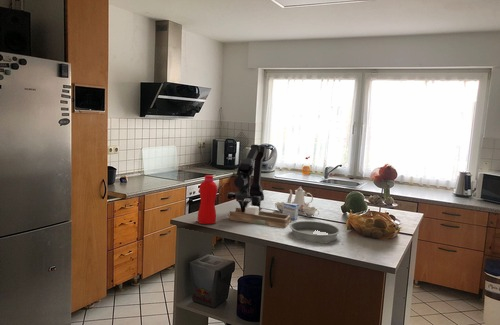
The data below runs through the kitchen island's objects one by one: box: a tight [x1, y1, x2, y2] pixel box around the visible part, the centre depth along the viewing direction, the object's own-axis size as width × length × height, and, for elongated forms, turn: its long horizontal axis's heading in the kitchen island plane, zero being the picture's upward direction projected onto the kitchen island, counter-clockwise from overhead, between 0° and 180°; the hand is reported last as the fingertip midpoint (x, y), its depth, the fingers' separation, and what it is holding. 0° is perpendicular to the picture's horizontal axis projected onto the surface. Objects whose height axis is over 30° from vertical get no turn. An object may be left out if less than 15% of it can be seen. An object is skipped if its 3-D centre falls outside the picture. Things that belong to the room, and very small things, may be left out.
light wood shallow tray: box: [227, 207, 292, 229], centre depth 214 cm, size 14×32×4 cm, turn 72°
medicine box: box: [282, 201, 299, 221], centre depth 223 cm, size 8×4×9 cm, turn 62°
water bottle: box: [197, 174, 218, 225], centre depth 203 cm, size 9×11×25 cm
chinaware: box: [274, 186, 320, 218], centre depth 236 cm, size 28×17×17 cm, turn 70°
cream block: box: [245, 204, 260, 215], centre depth 215 cm, size 6×6×5 cm
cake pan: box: [289, 220, 341, 243], centre depth 192 cm, size 25×25×4 cm
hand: (242, 212), depth 217 cm, fingers closed
